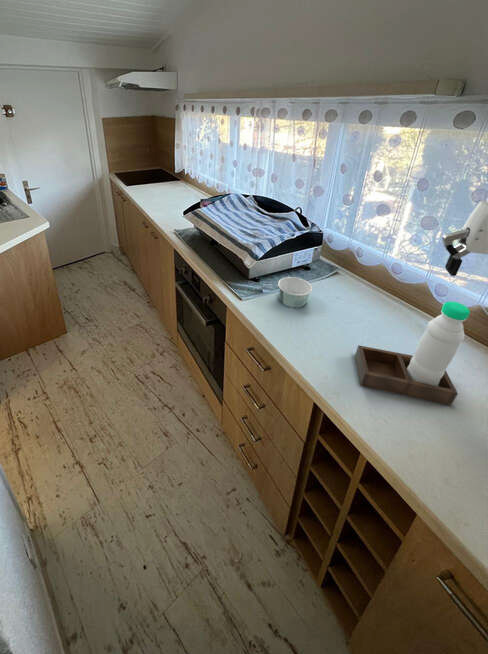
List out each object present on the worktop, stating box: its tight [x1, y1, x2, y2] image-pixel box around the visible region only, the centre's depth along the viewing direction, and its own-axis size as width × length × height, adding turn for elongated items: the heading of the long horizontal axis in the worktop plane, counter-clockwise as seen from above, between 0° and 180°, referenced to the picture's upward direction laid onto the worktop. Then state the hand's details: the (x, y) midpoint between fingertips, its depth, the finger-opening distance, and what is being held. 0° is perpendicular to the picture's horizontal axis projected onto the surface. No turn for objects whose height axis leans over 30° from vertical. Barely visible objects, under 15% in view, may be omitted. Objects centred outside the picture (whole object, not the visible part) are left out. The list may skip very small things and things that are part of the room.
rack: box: [354, 344, 459, 407], centre depth 82 cm, size 20×11×5 cm, turn 72°
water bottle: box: [407, 301, 471, 386], centre depth 75 cm, size 7×7×25 cm
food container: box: [277, 276, 313, 308], centre depth 113 cm, size 12×12×6 cm
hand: (477, 275), depth 65 cm, fingers open, 9 cm apart
